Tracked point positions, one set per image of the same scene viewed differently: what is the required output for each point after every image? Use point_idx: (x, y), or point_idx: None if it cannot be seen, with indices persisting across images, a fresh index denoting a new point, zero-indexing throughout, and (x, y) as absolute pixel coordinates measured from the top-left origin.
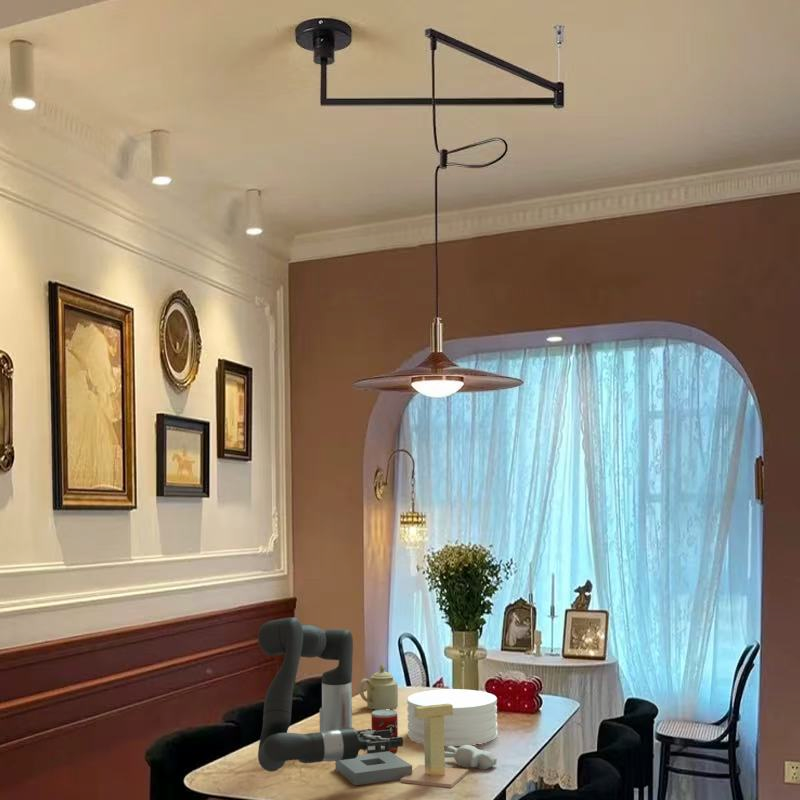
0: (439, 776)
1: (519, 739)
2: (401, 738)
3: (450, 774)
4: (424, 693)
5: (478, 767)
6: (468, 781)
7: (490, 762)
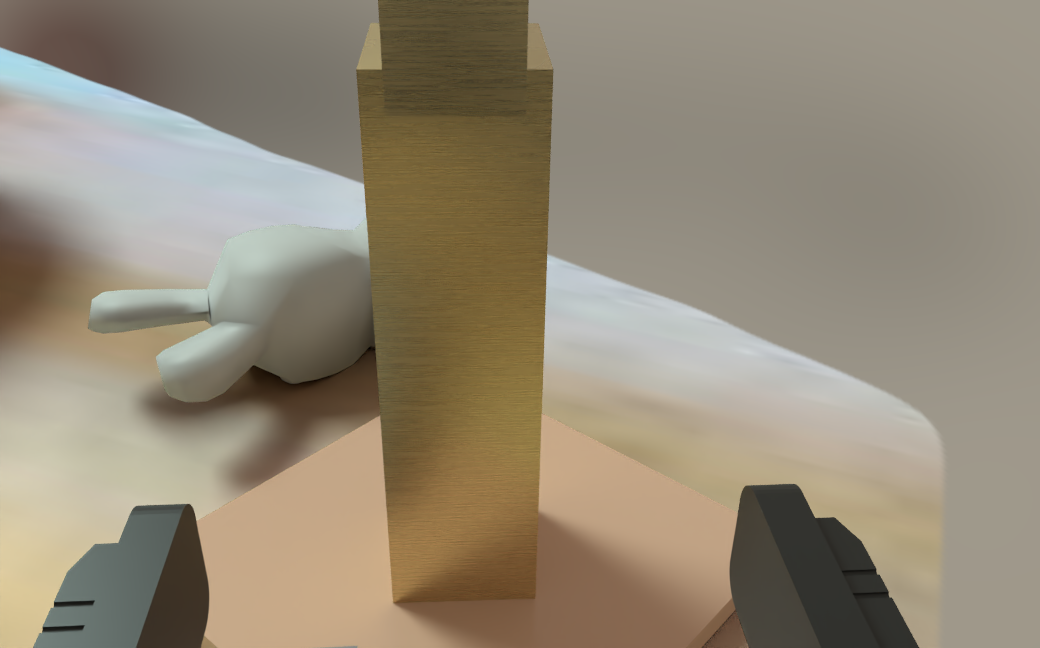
0: (543, 542)
1: (67, 137)
2: (794, 501)
3: None
4: None
5: None
6: (651, 437)
7: None
